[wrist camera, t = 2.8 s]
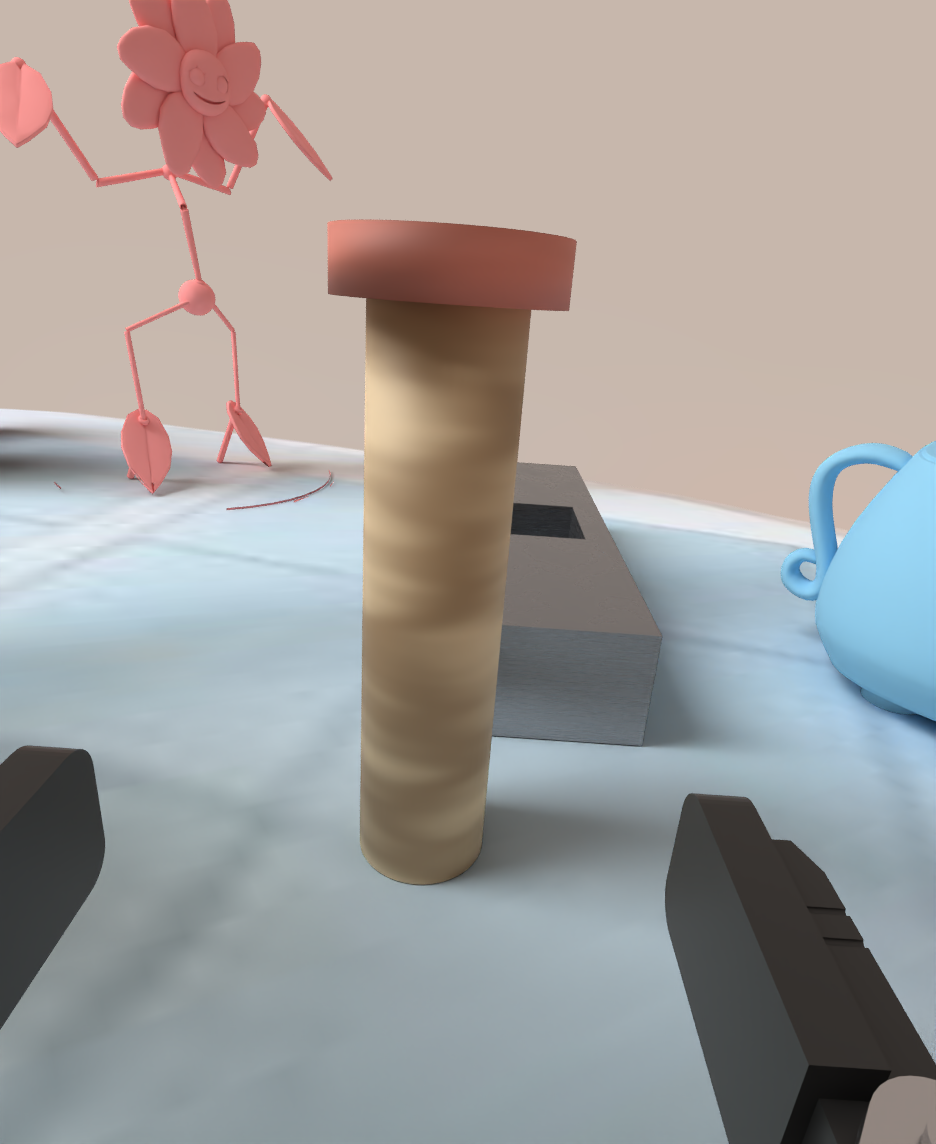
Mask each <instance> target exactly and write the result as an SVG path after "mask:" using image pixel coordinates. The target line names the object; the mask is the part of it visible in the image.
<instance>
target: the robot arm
mask: <svg viewBox="0 0 936 1144" xmlns="http://www.w3.org/2000/svg"><path fill="white" fill-rule="evenodd" d="M104 852H105V837H104V830H103V824H102V818H101V811H100V805H99V798H98V792H97V786H96V779H95V773H94V766H93V762H92V758H91V756H90V755H89V753H88V752H87V751H86V750H83V749H71V748H57V747H42V746H23V747H20V748H19V749H17V750H16V751H15V752H13V753H12V754H11V755H10V756H9V757H8V758H7V759H6V760H5V761H4V762H3V763H2V764H1V765H0V1029H1V1028H2V1026H3V1025H4V1023H5V1022H6V1020H7V1019H8V1017H9V1016H10V1014H11V1012H12V1011H13V1009H14V1008H15V1006H16V1005H17V1003H18V1002H19V1000H20V999H21V997H22V996H23V994H24V993H25V991H26V990H27V988H28V987H29V985H30V984H31V982H32V980H33V979H34V977H35V976H36V974H37V973H38V971H39V970H40V968H41V967H42V965H43V964H44V962H45V961H46V959H47V958H48V956H49V955H50V953H51V952H52V950H53V949H54V947H55V945H56V944H57V942H58V941H59V939H60V938H61V936H62V935H63V933H64V932H65V930H66V929H67V927H68V926H69V924H70V923H71V921H72V920H73V918H74V917H75V915H76V913H77V912H78V910H79V909H80V907H81V906H82V904H83V903H84V901H85V900H86V898H87V897H88V895H89V894H90V892H91V890H92V889H93V887H94V885H95V883H96V881H97V879H98V876H99V873H100V870H101V867H102V863H103V858H104ZM665 910H666V919H667V925H668V930H669V934H670V938H671V941H672V945H673V948H674V952H675V955H676V959H677V962H678V966H679V969H680V973H681V976H682V980H683V983H684V987H685V990H686V994H687V997H688V1001H689V1005H690V1008H691V1012H692V1015H693V1019H694V1022H695V1026H696V1029H697V1033H698V1036H699V1040H700V1043H701V1047H702V1050H703V1054H704V1057H705V1061H706V1064H707V1068H708V1071H709V1075H710V1078H711V1082H712V1085H713V1089H714V1092H715V1096H716V1100H717V1103H718V1107H719V1110H720V1114H721V1117H722V1121H723V1124H724V1128H725V1131H726V1135H727V1138H728V1142H729V1144H936V1064H935V1062H934V1061H933V1059H932V1057H931V1055H930V1054H929V1052H928V1050H927V1048H926V1047H925V1045H924V1043H923V1042H922V1040H921V1038H920V1036H919V1035H918V1033H917V1031H916V1030H915V1028H914V1026H913V1024H912V1023H911V1021H910V1019H909V1017H908V1016H907V1014H906V1012H905V1011H904V1009H903V1007H902V1005H901V1004H900V1002H899V1000H898V998H897V997H896V995H895V993H894V992H893V990H892V988H891V986H890V985H889V983H888V981H887V979H886V978H885V976H884V974H883V973H882V971H881V969H880V967H879V966H878V964H877V962H876V961H875V959H874V957H873V955H872V954H871V952H870V950H869V948H865V947H864V944H863V938H862V936H861V935H860V933H859V931H858V929H857V928H856V926H855V924H854V923H853V921H852V919H851V917H850V916H846V913H845V907H844V905H843V904H842V902H841V900H840V898H839V897H838V895H837V893H836V892H835V890H834V888H833V886H832V885H831V883H830V881H829V879H828V878H827V876H826V874H825V873H824V872H823V871H822V870H821V869H820V868H819V867H818V866H817V865H816V864H815V863H814V862H813V861H812V860H811V859H810V858H809V857H807V856H806V855H805V854H804V853H803V852H802V851H801V850H800V849H799V848H798V847H797V846H796V845H795V844H794V843H793V842H791V841H788V840H773V839H771V837H770V835H769V833H768V831H767V829H766V827H765V826H764V824H763V822H762V820H761V818H760V816H759V814H758V812H757V810H756V808H755V806H754V805H753V803H752V802H751V801H750V799H748V798H746V797H736V796H722V795H707V794H693V793H691V794H689V795H688V796H687V797H686V799H685V801H684V804H683V807H682V812H681V816H680V821H679V825H678V830H677V834H676V839H675V844H674V848H673V853H672V857H671V862H670V866H669V871H668V875H667V880H666V888H665Z"/></svg>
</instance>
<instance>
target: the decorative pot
mask: <svg viewBox="0 0 936 1144" xmlns="http://www.w3.org/2000/svg"><path fill="white" fill-rule="evenodd" d="M864 463H868V464H877V465H880V466H884V467H888V468H891V469H894V470H896V471H898V472H897V473H896V474H895V475H894V476H893V478H892V479H891V480H890V481H889V482H888V483H887V484H886V485H885V486H884V488H883V489H882V490H881V491H880V492H879V493H878V494H877V496H875V497H874V499H873V500H872V501H871V502H870V503H869V505H868V506H867V507H866V508H865V510H864V511H863V512H862V514H861V515H860V516H859V517H858V518H857V520H856V521H855V522H854V524H853V525H852V527H851V529H850V530H849V532H848V533H847V535H846V536H845V538H844V539H843V541H842V542H841V544H840V546H839V548H837V541H836V534H835V528H834V521H833V510H832V498H833V488H834V484H835V481H836V478H837V476H838V474H839V473H840V472H841V471H842V470H843V469H845V468H846V467H848V466H851V465H856V464H864ZM809 515H810V524H811V531H812V538H813V544H814V549H809V548H802V549H797V550H795V551H793V552H792V553H790V554H789V555H788V556H787V557H786V559H785V560H784V562H783V565H782V568H781V580H782V582H783V584H784V586H785V587H786V588H787V589H788V590H789V591H790V592H791V593H793V594H794V595H796V596H797V597H799V598H802V599H805V600H811V601H814V600H817V601H816V609H815V617H816V625H817V628H818V631H819V634H820V637H821V640H822V642H823V645H824V647H825V649H826V651H827V653H828V655H829V658H830V660H831V662H832V664H833V665H834V666H835V668H836V669H837V670H838V671H839V672H840V673H842V674H843V675H844V676H845V677H847V678H848V679H849V680H851V681H853V682H854V683H856V684H857V685H859V686H860V687H862V689H861V694H862V696H863V697H864V698H865V699H866V700H867V701H869V702H870V703H872V704H873V705H875V706H877V707H879V708H882V709H884V710H887V711H891V712H894V713H899V714H919V715H922V716H924V717H926V718H929V719H931V720H934V721H936V441H934V442H931V443H930V444H929V445H926V446H925V447H923V448H922V449H921V450H919V451H918V452H917V453H916V454H915V455H914V456H913V457H912V456H911V455H910V454H909V453H908V452H906V451H903V450H901V449H899V448H897V447H894V446H890V445H886V444H880V443H879V444H878V443H867V444H860V445H855V446H851V447H848V448H845V449H843V450H841V451H838V452H837V453H835V454H833V455H831V456H830V457H828V458H827V459H826V460H825V461H824V462H823V463H822V464H821V465H820V466H819V467H818V469H817V470H816V472H815V474H814V476H813V478H812V482H811V485H810V491H809ZM804 561H807V562H811V563H814V564H816V577H815V579H814V580H813V581H811V580H809V579H807V578H805V577H804V576H803V575H802V573H801V572H800V569H799V567H800V564H801V563H802V562H804Z"/></svg>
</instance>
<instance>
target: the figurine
mask: <svg viewBox="0 0 936 1144" xmlns="http://www.w3.org/2000/svg"><path fill="white" fill-rule="evenodd" d="M129 2H130V6H131V9H132V11H133V14H134V16H135V19H136V21H137V24H138V26H139V27H133V28H131V29H130V30H129V31H127V33H125V34H124V35H123V36H122V37H121V39H120V41H119V43H118V46H117V49H118V53H119V56H120V59H121V60H122V62H123V63H124V64H125V65H126V66H127V67H128V68H129V69H130V70H131V71H133V72H132V73H131V75H130V77H129V79H128V81H127V83H126V85H125V87H124V91H123V98H122V103H121V106H122V112H123V117H124V119H125V120H126V121H127V122H128V123H129V125H130V126H132V127H135V128H138V129H153V128H157V127H158V129H159V134H160V139H161V144H162V149H163V154H164V158H165V162H166V165H164V166H163V168H161V169H154V170H148V171H141V172H135V173H129V174H124V175H117V176H111V177H105V178H98V176H97V174H96V173H95V172H94V170H93V169H92V167H91V166H90V164H89V163H88V161H87V160H86V158H85V157H84V155H83V154H82V152H81V151H80V149H79V148H78V146H77V145H76V143H75V142H74V140H73V139H72V137H71V136H70V134H69V133H68V131H67V130H66V128H65V127H64V125H63V124H62V122H61V121H60V119H59V118H58V116H57V115H56V113H55V112H54V110H53V103H52V94H51V91H50V89H49V88H48V86H47V84H46V83H45V81H44V79H43V77H42V76H41V74H40V73H39V72H37V71H36V70H34V69H32V68H31V67H29V66H28V65H26V63H25V62H24V60H22V59H21V58H18V57H15V58H13V59H12V60H11V62H7V63H3V64H0V132H1V133H2V134H3V135H4V136H5V137H6V138H7V139H8V140H9V141H10V142H11V143H12V144H13V145H14V146H15V147H17V148H18V147H20V146H22V145H23V144H25V143H27V142H29V141H30V140H31V139H32V138H34V137H35V136H36V135H38V134H39V133H40V132H42V131H43V130H44V129H45V128H47V126H48V123H49V121H50V120H51V121H52V123H53V124H54V126H55V127H56V129H57V130H58V132H59V133H60V135H61V136H62V138H63V139H64V141H65V142H66V144H67V145H68V147H69V148H70V150H71V151H72V153H73V154H74V155H75V157H76V158H77V160H78V161H79V162H80V164H81V166H82V167H83V169H84V170H85V172H86V173H87V175H88V176H89V177H90V179H91V181H94V180H97V182H96V187H101V186H107V185H112V184H118V183H124V182H129V181H135V180H140V179H146V178H151V177H156V176H161V175H163V176H164V177H165V178H166V179H167V180H170V182H171V185H172V188H173V191H174V193H175V196H176V199H177V201H178V204H179V206H180V209H181V210H180V212H181V216H182V220H183V224H184V229H185V233H186V238H187V241H188V246H189V250H190V255H191V259H192V263H193V268H194V272H195V276H196V279H194V280H188V281H186V282H185V283H184V284H182V286H181V287H180V289H179V301H180V303H179V304H177V305H175V306H173V307H171V308H169V309H166V310H164V311H162V312H160V313H158V314H155V315H153V316H151V317H149V318H147V319H145V320H142V321H140V322H138V323H135V324H133V325H131V326H129V327H127V328H125V329H126V330H127V331H126V332H124V333H125V338H126V344H127V349H128V353H129V359H130V364H131V369H132V375H133V379H134V385H135V390H136V395H137V400H138V405H139V409H137V410H135V411H133V412H131V413H130V414H128V415H127V417H126V420H125V423H124V425H123V428H122V431H121V448H122V451H123V453H124V456H125V459H126V461H127V464H128V467H129V470H128V474H127V477H128V478H130V479H133V478H134V475H136V474H137V475H138V476H139V477H140V479H141V480H142V481H143V482H144V484H143V483H142V482H141V481H140V482H141V483H142V484H143V485H144V486H145V487H146V488H147V489H148V490H149V491H150V492H151V493H152V494H153V493H154V492H155V491H156V489H157V488H158V487H159V486H160V485H161V483H162V481H163V480H164V478H165V476H166V474H167V473H168V471H169V469H170V464H171V456H172V449H171V445H170V440H169V436H168V434H167V432H166V431H165V429H164V427H163V425H162V424H161V422H160V420H159V418H158V417H156V416H155V415H153V414H152V413H150V412H149V411H147V410H144V405H143V400H142V394H141V389H140V384H139V379H138V374H137V368H136V362H135V357H134V352H133V346H132V341H131V336H130V331H132V330H134V329H136V328H138V327H141V326H142V325H145V324H147V323H149V322H152V321H154V320H156V319H158V318H160V317H163V316H165V315H167V314H169V313H172V312H174V311H176V310H178V309H180V308H184V309H185V310H186V311H187V312H189V313H191V314H194V315H205V314H207V313H208V312H210V311H211V309H212V308H213V309H214V311H215V312H216V313H217V314H218V316H219V317H220V318H221V319H222V321H223V322H224V323H225V324H226V325H227V327H228V328H229V329H230V331H231V338H232V353H233V368H234V381H235V396H236V403H235V402H233V401H231V400H230V401H229V402H227V403H226V405H227V413H228V415H229V417H230V420H229V423H228V427H227V430H226V433H225V436H224V439H223V442H222V445H221V448H220V452H219V455H218V458H217V462H219V463H222V462H223V459H224V456H225V453H226V450H227V447H228V444H229V441H230V438H231V434H232V431H233V428H234V429H235V430H236V432H237V434H238V435H239V437H240V439H241V440H242V441H243V443H244V444H245V445H246V446H247V447H248V449H249V450H250V451H251V452H252V453H253V454H254V455H255V456H256V457H257V458H259V459H260V460H261V461H262V462H263V463H264V464H266V465H267V466H268V467H270V466H272V465H271V461H270V458H269V455H268V452H267V449H266V446H265V443H264V441H263V439H262V437H261V435H260V433H259V431H258V428H257V427H256V425H255V424H254V423H253V421H252V420H251V418H250V417H249V416H248V415H247V414H246V412H245V411H244V410H243V409H242V408H241V407H240V398H239V381H238V365H237V351H236V334H235V332H234V331H235V330H234V328H233V327H232V326H231V324H230V323H229V322H228V320H227V319H226V318H225V316H224V315H223V314H222V313H221V311H220V310H219V309H218V307H217V306H216V305H215V295H214V292H213V290H212V289H211V288H210V287H209V286H208V285H207V284H206V283H205V282H204V281H203V280H201V274H200V269H199V264H198V259H197V253H196V248H195V243H194V238H193V232H192V228H191V222H190V217H189V211H188V209H187V205H186V203H185V201H184V198H183V196H182V194H181V191H180V189H179V186H178V184H177V182H176V177H179V178H182V179H185V180H188V181H190V182H193V183H196V184H199V185H202V186H205V187H208V188H211V189H214V190H217V191H220V192H222V193H225V194H228V195H231V191H230V189H229V188H231V189H233V187H234V185H235V182H236V180H237V178H238V175H239V173H240V170H241V168H242V167H249V168H251V167H253V166H255V165H256V164H257V160H258V151H257V145H256V142H255V141H254V138H255V135H256V133H257V131H258V128H259V126H260V124H261V122H262V121H263V120H264V117H265V114H266V110H267V107H269V108H270V110H271V112H272V113H273V115H274V116H275V117H276V119H277V120H278V122H279V123H280V125H281V126H282V127H283V129H284V130H285V131H286V133H287V134H288V135H289V136H290V138H291V139H292V140H293V142H294V143H295V144H296V145H297V146H298V148H299V149H300V150H301V151H302V152H303V153H304V155H305V156H306V157H307V158H308V159H309V160H310V161H311V162H312V163H313V164H314V165H315V166H316V167H317V168H318V169H319V171H320V172H321V173H322V174H323V175H325V176H326V177H327V178H328V179H329V180H331V179H332V177H331V175H330V173H329V172H328V170H327V169H326V167H325V165H324V164H323V162H322V161H321V160H320V158H319V157H318V155H317V153H316V152H315V150H314V149H313V148H312V146H311V145H310V144H309V143H308V141H307V140H306V138H305V137H304V136H303V134H302V133H301V132H300V131H299V130H298V128H297V127H296V126H295V125H294V123H293V122H292V121H291V120H290V119H289V118H288V116H287V115H286V114H285V113H284V112H283V111H282V110H281V109H280V107H279V106H278V105H277V104H276V103H275V102H274V101H273V100H272V99H271V98H270V96H269V95H265V94H264V95H262V97H261V99H260V97H259V96H258V95H257V94H255V93H254V92H253V91H254V88H255V86H256V84H257V81H258V79H259V75H260V68H261V56H260V51H259V49H258V48H257V46H256V45H255V43H252V42H238V43H235V29H234V21H233V17H232V13H231V9H230V5H229V3H228V1H227V0H129ZM249 131H250V132H249ZM224 159H225V160H226V161H228V162H231V163H233V164H236V165H235V167H234V170H233V172H232V174H231V177H230V179H229V181H228V184H227V187H225V186H223V185H222V183H223V181H224V178H225V175H226V169H225V163H224ZM191 166H192V167H193V169H194V170H195V171H196V173H197V174H198V176H199V177H200V178H199V177H196V176H193V175H190V174H187V173H188V172H189V171H190V169H191ZM135 473H136V474H135ZM329 473H330V471H329ZM137 475H136V477H137ZM330 475H331V474H330ZM137 478H138V477H137ZM138 479H139V478H138ZM140 479H139V480H140ZM329 480H330V478H329ZM329 480H328V481H327V482H326V484H327V483H328V482H329ZM333 482H334V481H333ZM54 483H55V482H54ZM153 483H154V484H153ZM55 484H56V483H55ZM326 484H325V485H326ZM56 485H57V484H56ZM325 485H323V486H322V487H320V488H319V489H317V490H315V491H313V492H310V493H308V494H305V495H302V496H299V497H295V498H292V499H288V500H283V501H279V502H274V503H268V504H261V505H255V506H246V507H235V508H227V510H234V509H244V508H253V507H260V506H267V505H273V504H278V503H282V502H287V501H291V500H295V499H298V498H301V497H305V496H307V495H309V494H312V493H314V492H316V491H318V490H320V489H321V488H323V487H324V486H325ZM331 485H332V484H331ZM331 485H330V486H331ZM57 486H58V487H59V488H60V489H61V487H60V486H59V485H57ZM305 498H306V497H305ZM301 499H303V498H301ZM301 499H298V500H295V501H294V502H296V501H299V500H301Z"/></svg>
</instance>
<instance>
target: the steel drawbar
mask: <svg viewBox="0 0 936 1144" xmlns="http://www.w3.org/2000/svg"><path fill="white" fill-rule="evenodd" d="M661 640H662V635H661V633H660V631H659V629H658V627H657V625H656V623H655V621H654V619H653V617H652V615H651V613H650V611H649V609H648V607H647V605H646V603H645V601H644V599H643V597H642V596H641V594H640V592H639V590H638V588H637V586H636V584H635V582H634V580H633V578H632V576H631V574H630V572H629V570H628V568H627V566H626V564H625V562H624V560H623V558H622V556H621V554H620V552H619V550H618V548H617V546H616V544H615V542H614V541H613V539H612V537H611V535H610V533H609V531H608V529H607V527H606V525H605V523H604V521H603V519H602V517H601V515H600V513H599V511H598V509H597V507H596V505H595V503H594V501H593V499H592V497H591V495H590V493H589V491H588V489H587V488H586V486H585V484H584V482H583V480H582V478H581V476H580V474H579V472H578V470H577V468H576V467H575V466H561V465H545V464H532V463H518V462H517V469H516V480H515V490H514V501H513V512H512V523H511V534H510V544H509V555H508V566H507V577H506V588H505V598H504V609H503V620H502V631H501V642H500V652H499V663H498V674H497V685H496V696H495V706H494V717H493V728H492V736H506V737H520V738H535V739H549V740H564V741H578V742H593V743H607V744H622V745H636V746H642V742H643V737H644V731H645V726H646V721H647V715H648V710H649V705H650V699H651V694H652V689H653V683H654V678H655V673H656V667H657V662H658V656H659V651H660V646H661Z"/></svg>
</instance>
